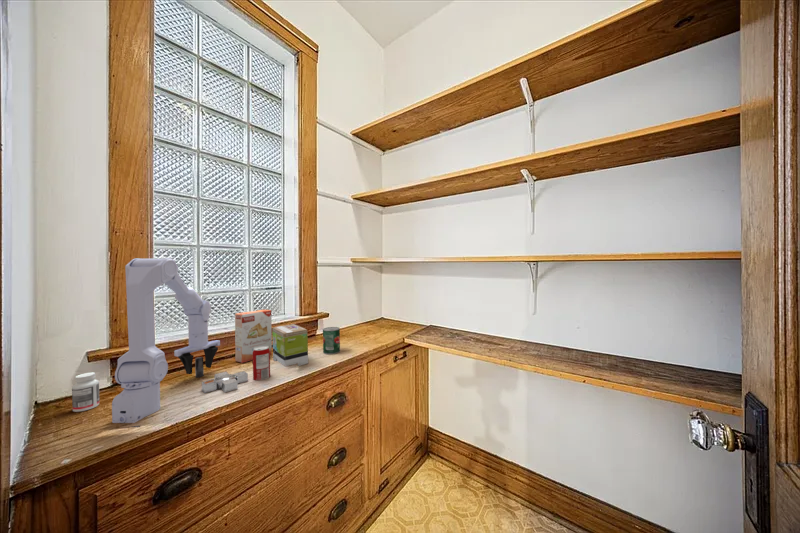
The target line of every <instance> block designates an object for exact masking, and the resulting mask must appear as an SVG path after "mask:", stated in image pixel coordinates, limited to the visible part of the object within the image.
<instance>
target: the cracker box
mask: <svg viewBox="0 0 800 533" xmlns="http://www.w3.org/2000/svg"><path fill="white" fill-rule="evenodd" d="M234 326H235V327H234V334H235V339H234V341H235V342H234V343H235V345H234V346H235V347H234V350H235V354H234V356H235V357H234V358H235V362H239V363H241V364H243V363H246V362H250V361H253V350H254V348H256V347H260V346H268V347H269V350H270V356H271V355H273V336H272V310H271V309H260V310H251V311H250V310H249V311H244V312H238V313H237V312H236V313H235V314H234Z"/></svg>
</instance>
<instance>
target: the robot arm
mask: <svg viewBox="0 0 800 533" xmlns="http://www.w3.org/2000/svg"><path fill="white" fill-rule="evenodd" d="M124 268H125V287H126V288H125V289H126V290H125V291H126V310H127V312H126V314H127V315H126V316H127V334H128V336H127V337H128V351H127V352H125V353H124V354H123V355H121V356H120V357H119V358H118V359H117V365H116V369H115V372H114V379H115V382H116V383H117V384H119V385H120V388H122V391H121V392H119V394H117V395H115V396H114V398H113V399H112V402H111V417H112V418H111V420H112V421H111V423H113V424H135V423H137V422H139V421H141V420H143V419H144V418H146V417H148V416H151V415H152V414H155V413H157V412H158V411H159V410H160V409H161V381H163V380H164V378H165V377H166V375H167V374H168V370H169V364H168V362H167V360H166V356H165V352H164V351H163V350H161V349H160V348H159V347H157V346H156V331H155V310H154V309H155V306H154V305H155V304H154V291H155V290H156V289H157V288H158V287H160V286H162V285H164V284H165V285H166V286H167V287H168V288H169V289H171V291H173V293H175V294H174V298H175V301H177V302H179V304H180V305H181V306H182V307H181V308H182V310H183V314H184V315H185V316H186V317H187V318H188V319H187V322H188V323H187V324H188V326H187V327H188V346H184V347H182V348H178V349H175V350H174V351H173V352H174V353H173V354H174V357H177V358H178V359H179V360H180V362H181V363H182V365H183V367H184V369H185V373H186V374H187V375H192V374H193V361H194V360H193V359H194V358H195V357H194V355H193V354H191V353H194V352H195V353H196V352H199V351H202V350H203V353H204V362H205V363H204V364H205V368H208V369H211V368H212V365H213V361H214V358H215V356H216V353H217V352H218V351H219V346H221V340H219V339H218V340H217V339H216V340H211V341H209V329H208V327H209V326H208V325H209V324H208V321H209V318H210V314H211V309H212V306H211V303H210V301H208V300H206V299H203V298H202V297H201V296H200V295H199V294H198V292H197V291H196V290H195V289H194V288H193V287H192V286H187V284H185V282H184V280H183V279H182V277H181V276H180V275H179V266H178V264H177V263H176V260H174V259H173V258H172V257H163V258H161V257H158V258H139V257H138V258H133V259H131V260H130V261H128V263H127V264H126V265H125V266H124ZM132 427H133V428H136V427H137V428H138V427H140V425H135V426H132Z"/></svg>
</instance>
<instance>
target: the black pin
mask: <svg viewBox="0 0 800 533" xmlns="http://www.w3.org/2000/svg"><path fill="white" fill-rule="evenodd" d="M194 359H195V360H194V364H195V367H194V368H195V369H194V370H195V371H194V372H195V375H194V376H195V378H202V377H204V374H205V372H204V356H198V357H194Z"/></svg>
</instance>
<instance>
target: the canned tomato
mask: <svg viewBox="0 0 800 533" xmlns="http://www.w3.org/2000/svg"><path fill="white" fill-rule="evenodd" d="M340 329H341V328H340V327H339V326H338V327H337V326H329V327H323V328H322V353H323V354H324V355H335V354H338V353H340V352H341V331H340Z"/></svg>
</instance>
